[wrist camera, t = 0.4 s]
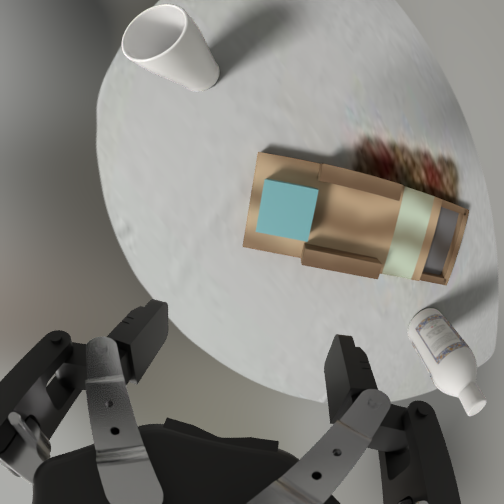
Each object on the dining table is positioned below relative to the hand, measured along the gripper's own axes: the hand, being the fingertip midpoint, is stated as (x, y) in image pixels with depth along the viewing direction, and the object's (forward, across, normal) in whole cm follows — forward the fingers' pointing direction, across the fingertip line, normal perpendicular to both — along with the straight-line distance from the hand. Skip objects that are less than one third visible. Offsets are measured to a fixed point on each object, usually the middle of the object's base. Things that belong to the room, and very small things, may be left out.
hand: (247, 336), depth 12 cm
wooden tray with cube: (+25, -13, -3) cm, 28 cm away
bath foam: (+25, -28, +12) cm, 39 cm away
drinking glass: (+25, +12, -19) cm, 34 cm away
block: (+23, -1, -3) cm, 23 cm away
